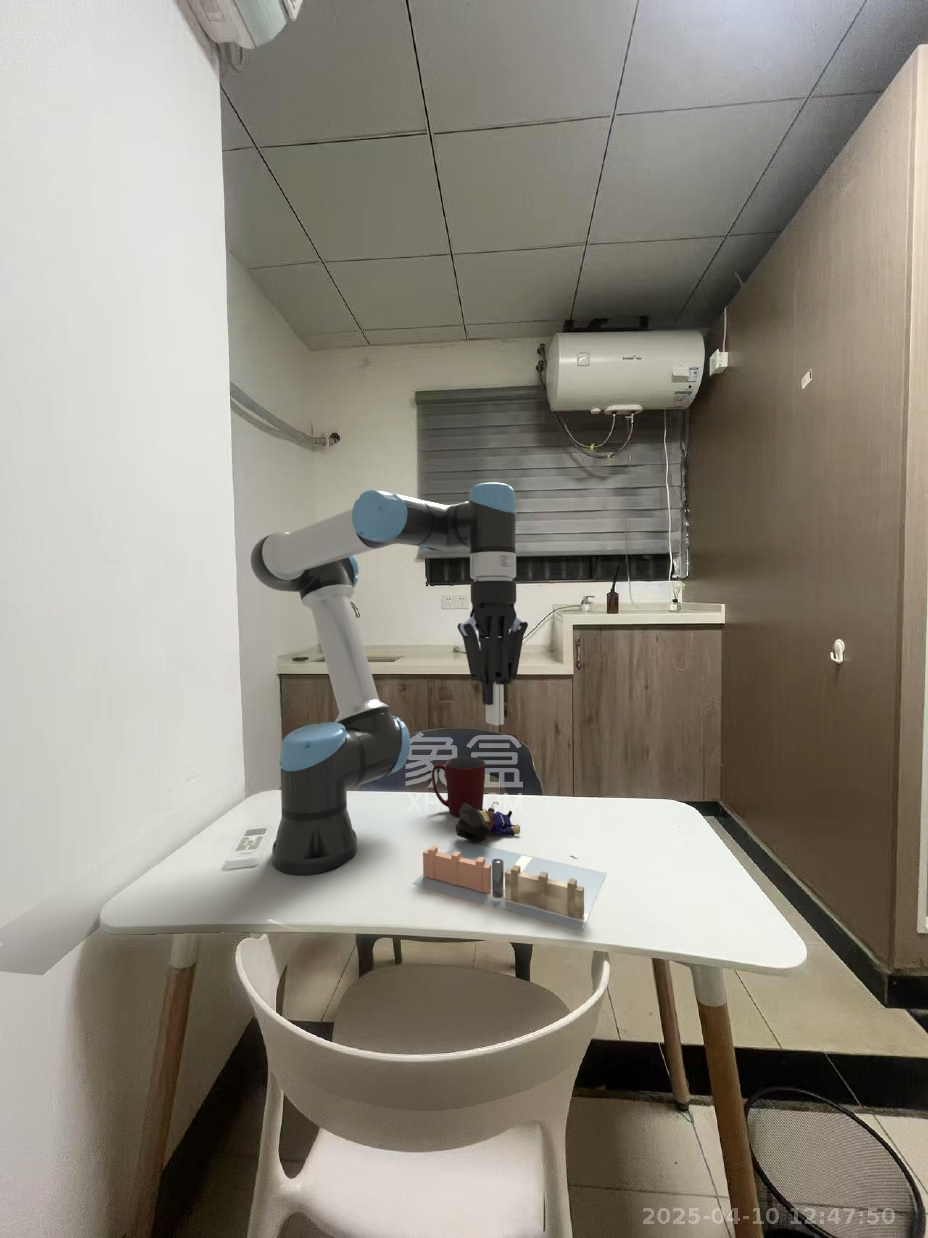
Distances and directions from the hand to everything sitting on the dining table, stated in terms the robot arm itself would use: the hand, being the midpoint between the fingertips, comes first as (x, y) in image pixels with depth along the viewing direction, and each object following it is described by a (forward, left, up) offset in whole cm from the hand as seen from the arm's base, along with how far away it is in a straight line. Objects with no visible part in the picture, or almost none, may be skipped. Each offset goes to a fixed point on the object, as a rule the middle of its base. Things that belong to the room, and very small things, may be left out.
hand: (494, 723), depth 83 cm
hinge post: (+2, -4, -26) cm, 27 cm away
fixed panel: (+9, -4, -26) cm, 28 cm away
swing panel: (-5, -4, -26) cm, 27 cm away
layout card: (+2, +2, -26) cm, 27 cm away
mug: (-19, +23, -27) cm, 40 cm away
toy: (-8, +15, -26) cm, 31 cm away
